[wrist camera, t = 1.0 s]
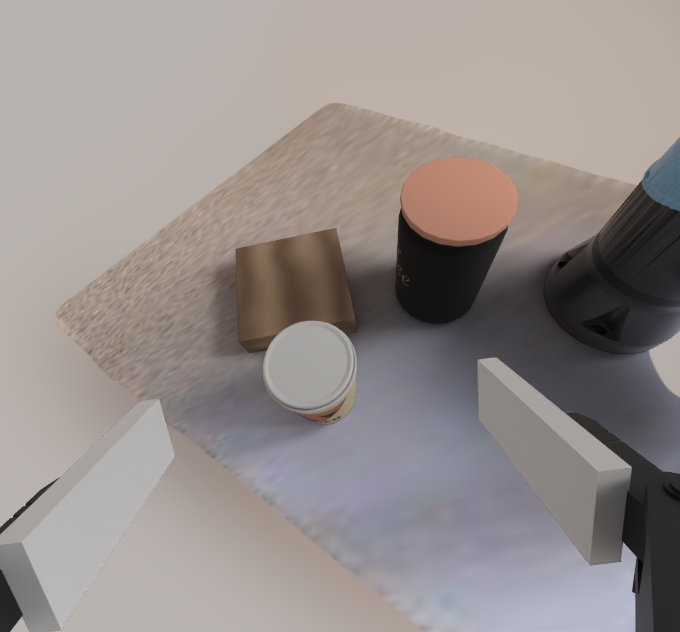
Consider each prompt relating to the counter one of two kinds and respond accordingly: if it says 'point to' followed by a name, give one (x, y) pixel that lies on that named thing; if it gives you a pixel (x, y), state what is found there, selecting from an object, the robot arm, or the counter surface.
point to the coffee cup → (312, 371)
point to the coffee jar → (449, 235)
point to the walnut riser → (291, 287)
